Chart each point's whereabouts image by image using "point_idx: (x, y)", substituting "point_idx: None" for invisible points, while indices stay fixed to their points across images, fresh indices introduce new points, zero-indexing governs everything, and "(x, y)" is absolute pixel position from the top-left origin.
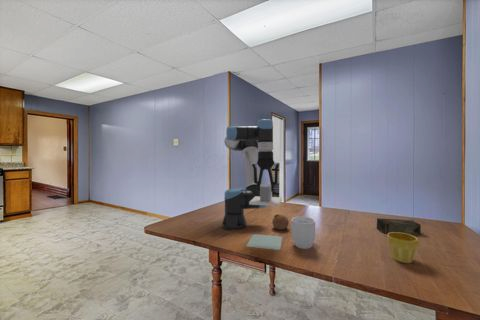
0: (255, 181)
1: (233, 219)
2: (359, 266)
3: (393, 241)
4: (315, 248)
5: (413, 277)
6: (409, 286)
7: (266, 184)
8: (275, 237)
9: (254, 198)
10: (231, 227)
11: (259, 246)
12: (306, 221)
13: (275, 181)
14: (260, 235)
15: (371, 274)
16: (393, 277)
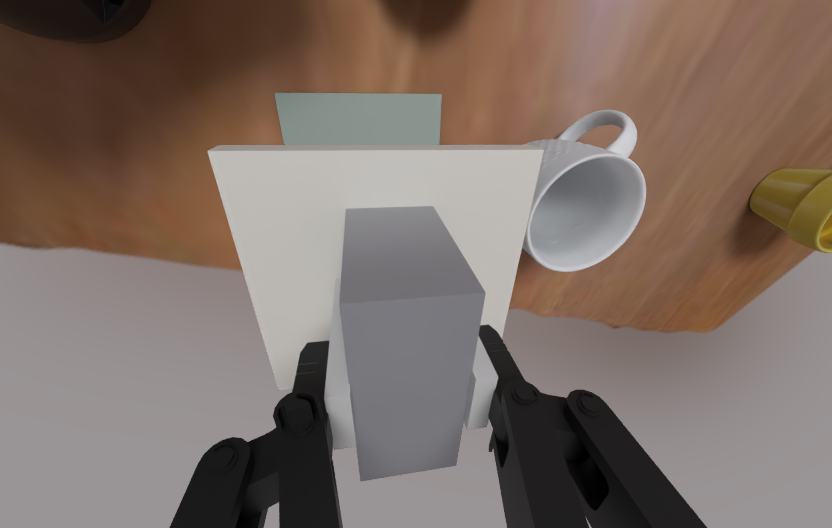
0: (245, 523)
1: (27, 7)
2: (632, 260)
3: (803, 235)
4: None
5: (711, 272)
6: (675, 304)
7: (402, 309)
8: (406, 115)
9: (261, 272)
10: (75, 41)
11: None
12: (604, 159)
13: (574, 471)
14: (323, 105)
15: (636, 286)
16: (672, 284)
